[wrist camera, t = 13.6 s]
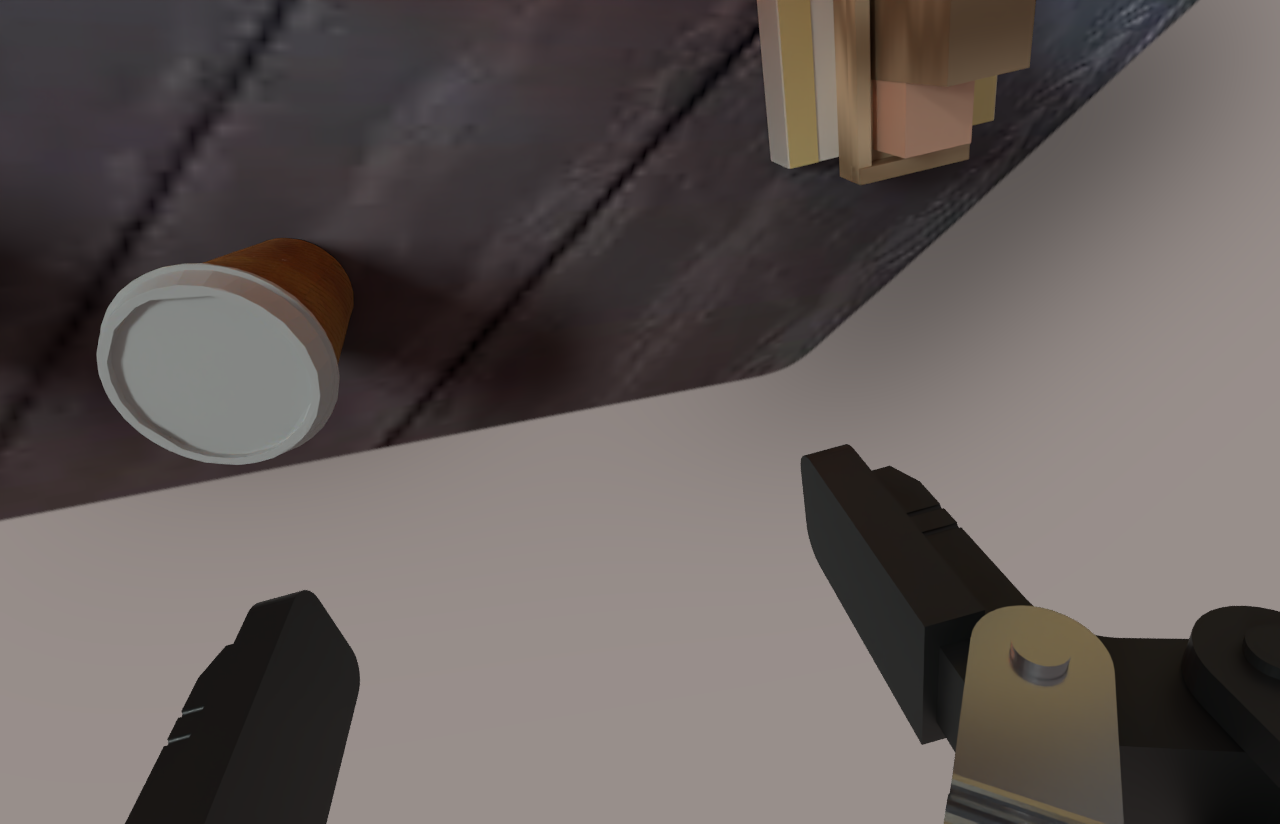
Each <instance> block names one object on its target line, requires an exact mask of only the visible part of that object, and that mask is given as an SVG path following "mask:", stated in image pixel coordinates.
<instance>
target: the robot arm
mask: <svg viewBox="0 0 1280 824" xmlns="http://www.w3.org/2000/svg"><path fill="white" fill-rule="evenodd" d="M801 474H802V484H803V494H804V503H805V512H806V522H807V530H808V535H809V539H810V542H811V545H812V549H813V552H814V554H815V557H816V559H817V561H818V563H819V565H820V567H821V569H822V570H823V572H824V574H825V576H826V577H827V579H828V580H829V583H830V584H831V586H832V588H833V589H834V591H835V593H836V595H837V597H838V599H839V600H840V602H841V604H842V606H843V607H844V609H845V611H846V613H847V614H848V616H849V618H850V620H851V621H852V623H853V625H854V627H855V628H856V630H857V632H858V634H859V635H860V637H861V639H862V640H863V642H864V644H865V646H866V647H867V649H868V651H869V653H870V655H871V656H872V658H873V660H874V662H875V663H876V665H877V667H878V669H879V670H880V672H881V674H882V676H883V677H884V679H885V681H886V683H887V684H888V686H889V688H890V690H891V691H892V693H893V695H894V697H895V698H896V700H897V702H898V704H899V705H900V707H901V709H902V711H903V712H904V714H905V716H906V718H907V719H908V721H909V723H910V725H911V726H912V728H913V730H914V732H915V733H916V735H917V737H918V739H919V741H920V742H921V744H922V745H923V744H926V743H930V742H934V741H937V740H940V739H944V738H947V740H948V741H949V743H950V745H951V746H952V748H953V749H954V751H955V760H954V767H953V775H952V783H951V789H950V793H949V795H948V799H947V805H946V811H945V818H944V824H1280V612H1278V611H1275V610H1271V609H1265V608H1260V607H1251V606H1229V607H1222V608H1218V609H1215V610H1212V611H1209V612H1208V613H1206V614H1204V615H1202V616H1201V617H1200V618H1199V619H1198V620H1197V621H1196V623H1195V625H1194V627H1193V629H1192V632H1191V636H1190V638H1189V639H1149V638H1147V639H1145V638H1143V639H1142V638H1111V637H1103V636H1097V635H1094V634H1093V633H1092V632H1091V631H1090V630H1089V629H1087V628H1086V627H1085V626H1083V625H1082V624H1080V623H1079V622H1077V621H1075V620H1074V619H1071V618H1070V617H1068V616H1065V615H1063V614H1061V613H1058V612H1055V611H1053V610H1049V609H1045V608H1041V607H1034V606H1033V605H1032V604H1031V603H1030V602H1029V601H1028V600H1026V598H1025V597H1024V596H1023V595H1022V594H1021V593H1020V592H1019V591H1018V590H1017V588H1016V587H1015V586H1014V585H1013V584H1012V583H1011V582H1010V581H1009V580H1008V578H1007V577H1006V576H1005V575H1004V574H1003V573H1002V572H1001V571H1000V570H999V569H998V567H997V566H996V565H995V564H994V563H993V562H992V561H991V560H990V559H989V558H988V556H987V555H986V554H985V553H984V552H983V551H982V550H981V549H980V548H979V546H978V545H977V544H976V543H975V542H974V541H973V540H972V539H971V538H970V536H969V535H968V534H967V533H966V532H965V531H964V530H963V529H962V528H959V527H958V526H957V522H956V521H955V520H954V519H953V518H952V517H951V515H950V514H949V513H948V512H947V511H946V510H945V509H944V508H943V509H942V508H941V506H940V503H939V502H938V501H937V500H936V499H935V498H934V497H933V496H932V495H931V493H930V492H929V491H928V490H927V489H926V488H925V487H924V486H923V485H922V483H921V482H920V481H918V480H916V479H914V478H912V477H910V476H908V475H906V474H904V473H902V472H901V471H899V470H897V469H895V468H893V467H891V466H887V467H883V468H880V469H877V470H873V471H871V470H870V468H869V467H868V466H867V465H866V463H865V462H864V461H863V460H862V459H861V457H860V456H859V455H858V454H857V452H856V451H855V450H854V449H853V448H852V447H851V446H850V445H848V444H845V445H842V446H838V447H834V448H831V449H827V450H823V451H820V452H816V453H812V454H808V455H805V456H803V457H802V458H801ZM359 686H360V674H359V667H358V662H357V659H356V656H355V654H354V652H353V650H352V649H351V647H350V646H349V644H348V643H347V641H346V640H345V638H344V637H343V635H342V634H341V632H340V631H339V629H338V628H337V626H336V625H335V623H334V622H333V620H332V619H331V617H330V616H329V614H328V613H327V611H326V610H325V608H324V607H323V605H322V604H321V602H320V601H319V599H318V598H317V596H316V595H315V594H314V593H312V592H310V591H307V590H303V591H300V592H296V593H292V594H289V595H285V596H281V597H278V598H274V599H270V600H267V601H263V602H259V603H257V604H255V605H254V606H253V607H252V608H251V609H250V610H249V612H248V614H247V616H246V618H245V621H244V622H243V625H242V627H241V629H240V631H239V633H238V635H237V638H236V640H235V642H234V644H231V645H228V646H225V648H224V649H223V650H222V651H221V652H220V653H219V655H218V656H217V657H216V658H215V659H214V660H213V661H212V663H211V664H210V665H209V666H208V667H207V669H206V670H205V671H204V672H203V673H202V674H201V675H200V677H199V678H198V680H197V681H196V683H195V686H194V688H193V689H192V691H191V694H190V695H189V698H188V700H187V701H186V703H185V706H184V707H183V709H182V714H183V715H182V717H180V718H178V719H177V721H176V723H175V725H174V727H173V729H172V731H171V733H170V735H169V737H168V746H164V747H163V749H162V751H161V753H160V755H159V757H158V759H157V761H156V763H155V765H154V767H153V769H152V771H151V773H150V775H149V777H148V779H147V781H146V783H145V785H144V787H143V789H142V791H141V793H140V795H139V797H138V799H137V801H136V803H135V805H134V807H133V809H132V811H131V813H130V815H129V817H128V819H127V821H126V823H125V824H326V822H327V818H328V814H329V810H330V806H331V802H332V798H333V794H334V790H335V786H336V781H337V778H338V774H339V770H340V766H341V762H342V757H343V754H344V749H345V745H346V741H347V737H348V733H349V729H350V725H351V721H352V717H353V713H354V708H355V705H356V701H357V697H358V692H359Z"/></svg>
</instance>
